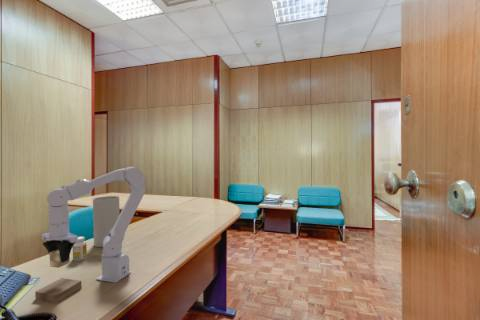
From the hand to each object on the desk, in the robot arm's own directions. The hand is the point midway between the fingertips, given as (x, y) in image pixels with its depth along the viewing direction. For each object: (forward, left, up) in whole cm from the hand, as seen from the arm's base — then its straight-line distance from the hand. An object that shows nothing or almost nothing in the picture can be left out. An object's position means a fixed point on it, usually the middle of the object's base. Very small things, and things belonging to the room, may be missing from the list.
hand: (60, 260), depth 83 cm
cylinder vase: (+20, -41, -11) cm, 47 cm away
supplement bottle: (+17, -22, -11) cm, 30 cm away
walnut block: (-2, +2, -11) cm, 11 cm away
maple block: (0, 0, -1) cm, 1 cm away
